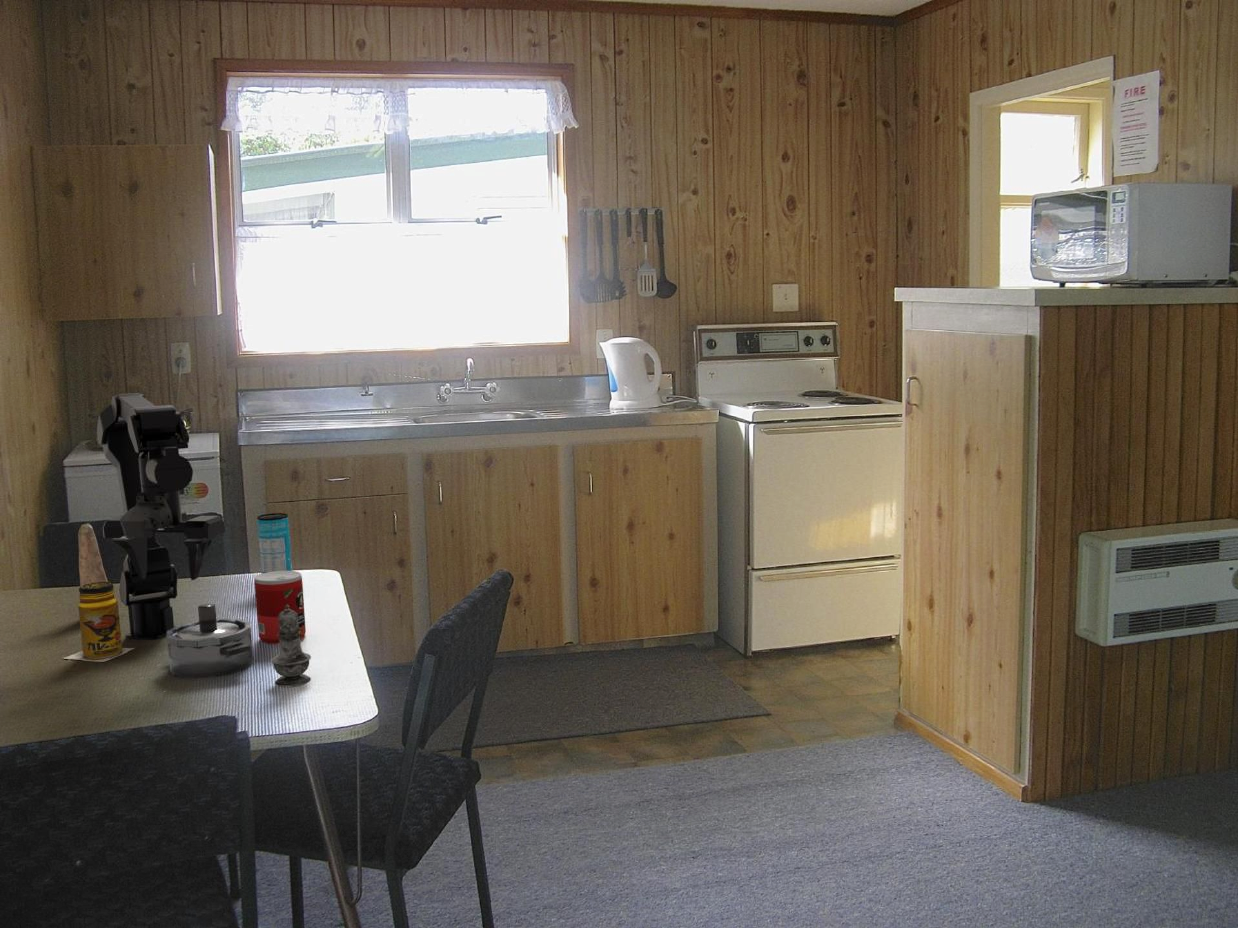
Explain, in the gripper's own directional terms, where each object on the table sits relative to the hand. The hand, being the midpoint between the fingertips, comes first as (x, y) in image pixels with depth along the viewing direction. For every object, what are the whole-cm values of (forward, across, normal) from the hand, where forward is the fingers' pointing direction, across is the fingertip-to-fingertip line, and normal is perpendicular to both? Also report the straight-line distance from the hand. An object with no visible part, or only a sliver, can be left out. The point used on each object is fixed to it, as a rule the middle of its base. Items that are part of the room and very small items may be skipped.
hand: (168, 579), depth 200 cm
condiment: (+13, -14, 0) cm, 19 cm away
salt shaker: (+13, +26, -10) cm, 31 cm away
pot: (+13, +9, -4) cm, 16 cm away
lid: (+8, +9, -4) cm, 13 cm away
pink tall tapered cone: (+13, -29, +22) cm, 39 cm away
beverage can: (+13, -5, +45) cm, 47 cm away
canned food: (+13, +13, +12) cm, 22 cm away
